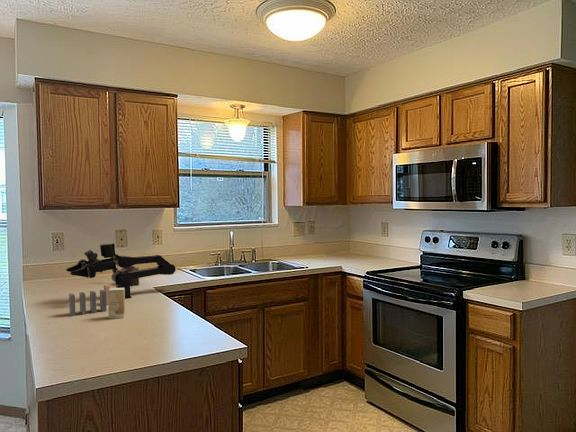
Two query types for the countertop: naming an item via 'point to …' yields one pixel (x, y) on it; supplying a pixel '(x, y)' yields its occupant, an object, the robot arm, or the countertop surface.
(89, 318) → the countertop surface
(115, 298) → the skincare box
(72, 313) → the domino
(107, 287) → the domino
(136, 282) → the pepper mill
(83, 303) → the domino
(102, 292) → the domino
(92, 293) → the domino
